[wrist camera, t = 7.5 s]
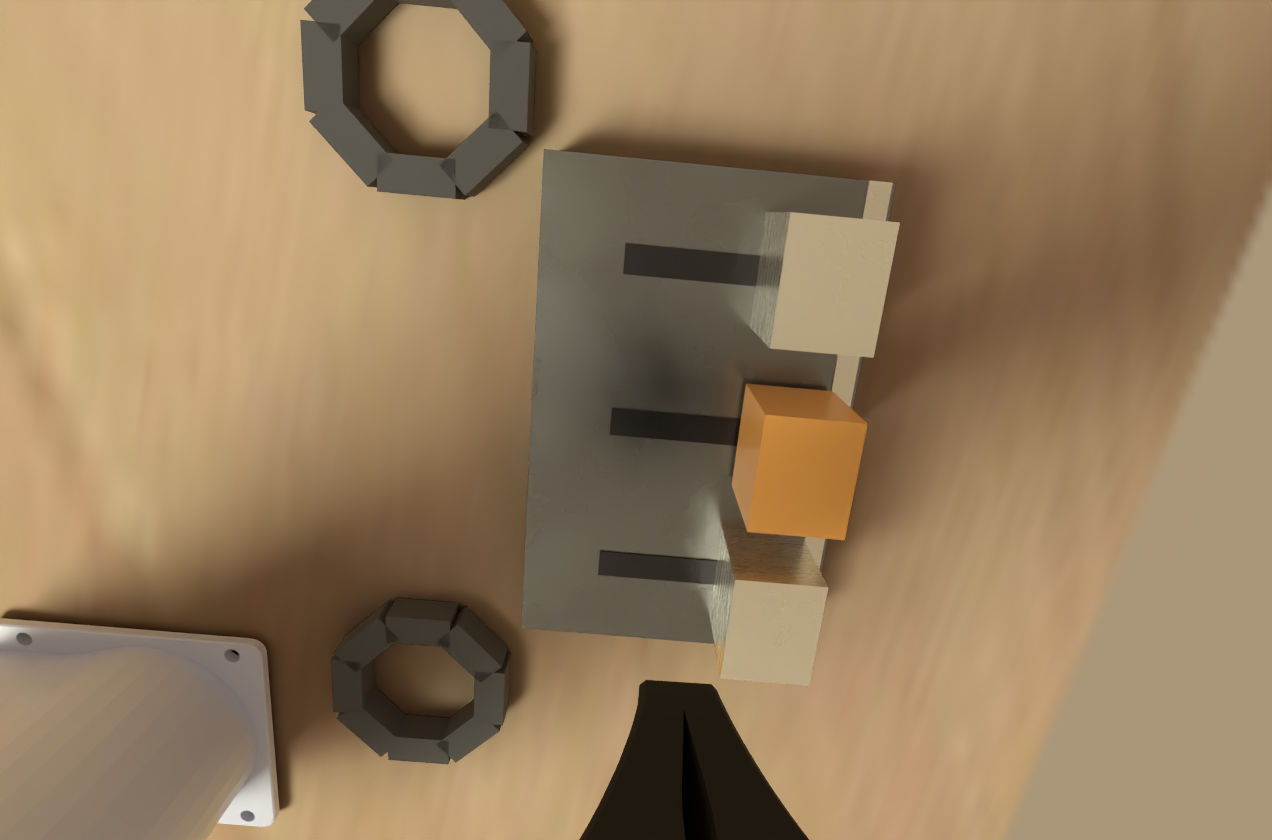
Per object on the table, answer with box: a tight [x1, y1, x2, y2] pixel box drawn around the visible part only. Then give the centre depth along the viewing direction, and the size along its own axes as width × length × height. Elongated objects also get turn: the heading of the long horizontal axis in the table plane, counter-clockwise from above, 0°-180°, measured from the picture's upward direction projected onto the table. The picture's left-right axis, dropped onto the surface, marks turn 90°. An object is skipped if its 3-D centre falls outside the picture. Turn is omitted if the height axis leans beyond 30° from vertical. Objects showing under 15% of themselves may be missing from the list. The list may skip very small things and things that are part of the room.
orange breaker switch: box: [732, 384, 868, 540], centre depth 18 cm, size 2×3×3 cm
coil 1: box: [300, 0, 537, 199], centre depth 18 cm, size 6×6×1 cm
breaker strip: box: [521, 149, 900, 686], centre depth 19 cm, size 9×14×5 cm, turn 175°
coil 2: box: [331, 598, 511, 764], centre depth 24 cm, size 6×6×1 cm
